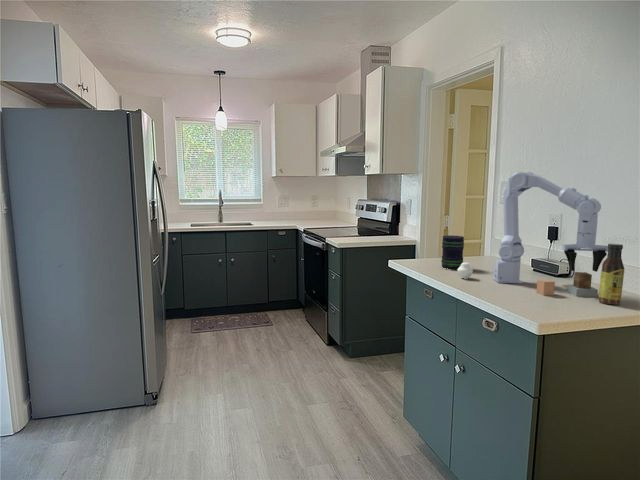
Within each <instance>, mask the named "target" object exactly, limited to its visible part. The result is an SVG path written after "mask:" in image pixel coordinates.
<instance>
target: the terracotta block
mask: <svg viewBox="0 0 640 480" xmlns="http://www.w3.org/2000/svg"><path fill="white" fill-rule="evenodd" d="M555 283H556V282H555V281H553V280H552V279H551V280H550V279H548V278H546V279H545V278H543V279H541V278H540V279H539V278H538V279H537V280H536V294H539V295H541V296H544V297H546V296H555Z"/></svg>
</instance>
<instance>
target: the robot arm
mask: <svg viewBox="0 0 640 480" xmlns="http://www.w3.org/2000/svg"><path fill="white" fill-rule="evenodd" d="M532 188H539V189H542V190H543V191H545V192H548V193H549V194H551V195H553V196H556V197H557V198H558V201H559V203H562V204H564V205H565V206H567V207H569V208H571V209H573V210H575V211H577V213H578V222H577V231H576V243H569V244H566V243H565V244H562V247H561V248H562V249H561V250H562V251H563V253H564V254H565V257H566V259H567V262H568V267H569V271H572V272H575V268H576V267H575V266H576V258H577V254H578V252H579V251H582V252H583V251H585V252H586V251H588V252H592V271H593V272H598V270H599V268H600V266H601V264H602V263H603V261H604V260H605V258H606V256H607V255H608V245H604V244H603V245H602V244H601V245H600V244H596V242H597V240H596V239H597V233H598V232H597V230H598V216H599V212H600V211H601V209H602V204H601V203H600V201H599V200H597V199H596V198H593V197H592V198H590V196H589V195H588V194H582V193H580V192H579V191H577V188H574V187H567V188H562V187H561V186H559V185H558V184H556V183H554V182H553V181H550V180H548V179H546V177H545V178H544V177H543V176H541V175H538V174H534V173H533V172H530V171H528V172H525V171H524V172H522V171H517V172H515V173H513V174H511V175H510V177H508V181H507V184H506V186H505V188H504V190H503V193H502V196H503V198H502V199H503V200H502V202H503V238H502V239H501V240H500V247H499V249H498V256H500V259H495V261H494V266H493V267H494V269H493V277H492V278H493V279H494V281H496V283H501V284H503V283H504V284H523V281H522V280H520V277H521V262H522V261H521V260H522V259H521V257H522V256H523V255H524V253H525V248H524V245H523V243H522V239H521V237H520V235H519V196H521V195H522V194H523V193H525V191H528V190H529V189H532ZM576 251H578V252H576Z"/></svg>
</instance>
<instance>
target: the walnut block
mask: <svg viewBox="0 0 640 480" xmlns="http://www.w3.org/2000/svg"><path fill="white" fill-rule="evenodd" d="M573 272H574V275H573V282H572V285H573V286H575V287H577V288H583V289H591V287H592V280H593V279H592V278H593V276H592V274H591V273H588V272H585V271H584V272H583V271H582V272H580V271H579V272H578V271H577V272H576V271H573Z"/></svg>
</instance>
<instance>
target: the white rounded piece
mask: <svg viewBox="0 0 640 480" xmlns="http://www.w3.org/2000/svg"><path fill="white" fill-rule="evenodd" d="M473 272H474V270H473V268H472V267H471V265H470V263H469V262H466V261H465V262H464V261H463V263H462V264H461V266H460V267H459V268H458V270H457V273H458V276H459V277H461V278H464V279H463V280H468V278H469V279H470V278H471V276H472V274H473ZM461 278H460V279H461Z"/></svg>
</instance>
